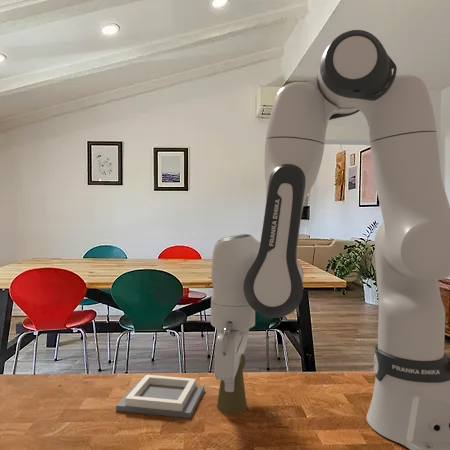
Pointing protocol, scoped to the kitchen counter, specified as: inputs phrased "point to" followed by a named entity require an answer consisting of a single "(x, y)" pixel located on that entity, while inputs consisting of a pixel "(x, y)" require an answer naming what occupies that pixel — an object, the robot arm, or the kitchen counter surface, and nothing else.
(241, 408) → the olive knobbed peg
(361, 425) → the kitchen counter surface
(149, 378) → the notch board
